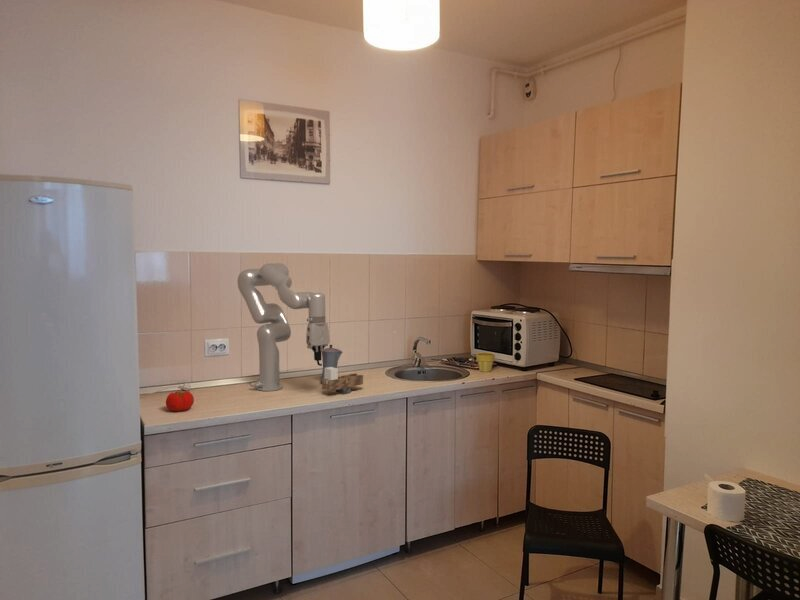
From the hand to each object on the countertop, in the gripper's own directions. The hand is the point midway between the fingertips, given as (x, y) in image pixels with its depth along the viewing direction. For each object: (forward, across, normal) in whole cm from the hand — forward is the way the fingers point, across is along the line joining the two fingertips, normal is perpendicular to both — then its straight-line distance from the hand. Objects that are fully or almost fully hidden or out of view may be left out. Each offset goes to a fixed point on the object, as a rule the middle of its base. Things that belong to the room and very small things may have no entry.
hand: (317, 360), depth 249 cm
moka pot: (+18, +21, +21) cm, 34 cm away
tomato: (+17, -54, +23) cm, 61 cm away
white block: (+12, +8, +1) cm, 15 cm away
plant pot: (+19, +106, -13) cm, 109 cm away
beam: (+18, +15, +1) cm, 23 cm away
